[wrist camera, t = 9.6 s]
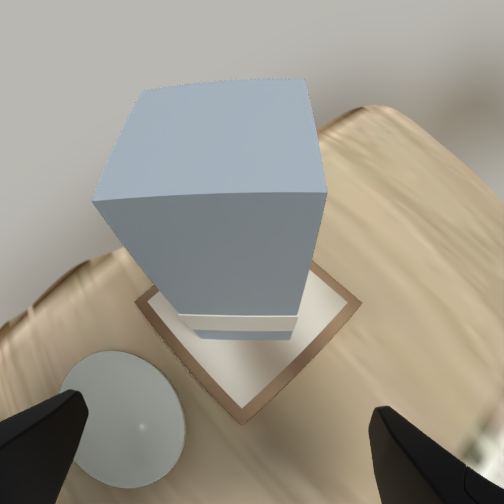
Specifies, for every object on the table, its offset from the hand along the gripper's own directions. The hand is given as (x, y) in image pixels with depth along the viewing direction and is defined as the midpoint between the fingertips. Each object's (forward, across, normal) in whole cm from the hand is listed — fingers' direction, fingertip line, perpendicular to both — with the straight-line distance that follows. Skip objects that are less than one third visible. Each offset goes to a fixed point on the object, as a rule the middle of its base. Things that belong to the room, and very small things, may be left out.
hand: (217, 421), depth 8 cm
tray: (+12, 0, +2) cm, 12 cm away
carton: (+10, 0, +1) cm, 10 cm away
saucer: (+6, +8, +8) cm, 13 cm away
